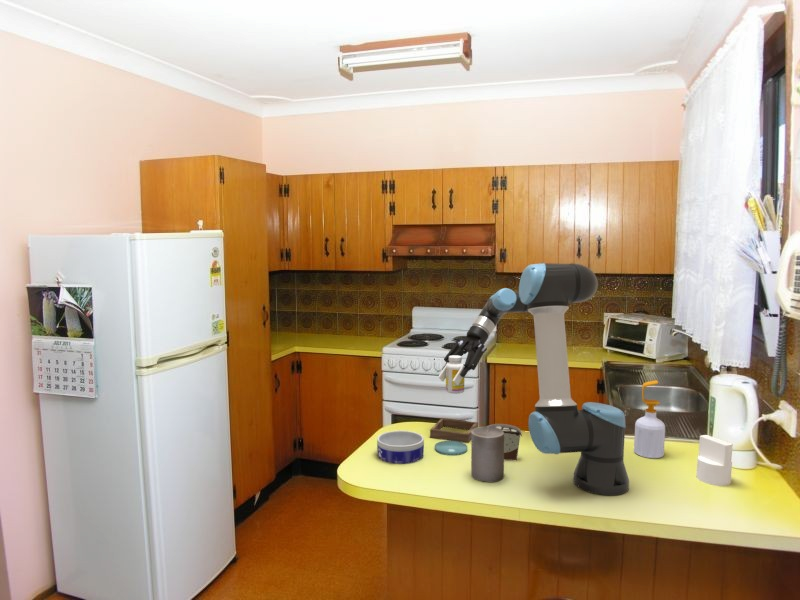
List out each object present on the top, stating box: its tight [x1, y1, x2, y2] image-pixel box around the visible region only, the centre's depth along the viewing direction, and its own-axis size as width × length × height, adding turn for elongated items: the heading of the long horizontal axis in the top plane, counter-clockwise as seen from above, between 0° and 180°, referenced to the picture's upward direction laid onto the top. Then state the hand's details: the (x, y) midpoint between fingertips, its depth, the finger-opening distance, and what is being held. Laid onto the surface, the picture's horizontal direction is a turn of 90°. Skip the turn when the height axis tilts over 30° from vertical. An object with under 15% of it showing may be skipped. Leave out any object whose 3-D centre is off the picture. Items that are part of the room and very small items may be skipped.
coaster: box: [434, 440, 468, 456], centre depth 194 cm, size 11×11×1 cm
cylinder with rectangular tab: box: [695, 434, 734, 487], centre depth 170 cm, size 9×9×12 cm
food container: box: [487, 423, 523, 461], centre depth 188 cm, size 12×6×10 cm, turn 84°
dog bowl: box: [376, 430, 425, 465], centre depth 189 cm, size 15×15×6 cm
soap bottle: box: [633, 379, 666, 459], centre depth 189 cm, size 9×9×25 cm
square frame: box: [429, 417, 479, 444], centre depth 209 cm, size 14×14×3 cm
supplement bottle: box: [445, 355, 465, 395], centre depth 206 cm, size 7×7×13 cm
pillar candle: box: [470, 425, 505, 483], centre depth 172 cm, size 10×10×15 cm
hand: (447, 381), depth 204 cm, fingers closed on supplement bottle, 7 cm apart
